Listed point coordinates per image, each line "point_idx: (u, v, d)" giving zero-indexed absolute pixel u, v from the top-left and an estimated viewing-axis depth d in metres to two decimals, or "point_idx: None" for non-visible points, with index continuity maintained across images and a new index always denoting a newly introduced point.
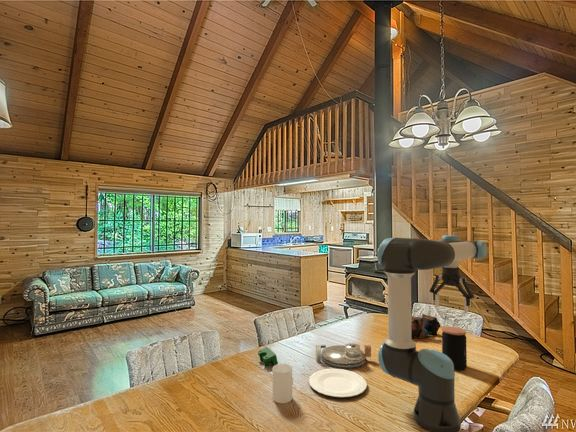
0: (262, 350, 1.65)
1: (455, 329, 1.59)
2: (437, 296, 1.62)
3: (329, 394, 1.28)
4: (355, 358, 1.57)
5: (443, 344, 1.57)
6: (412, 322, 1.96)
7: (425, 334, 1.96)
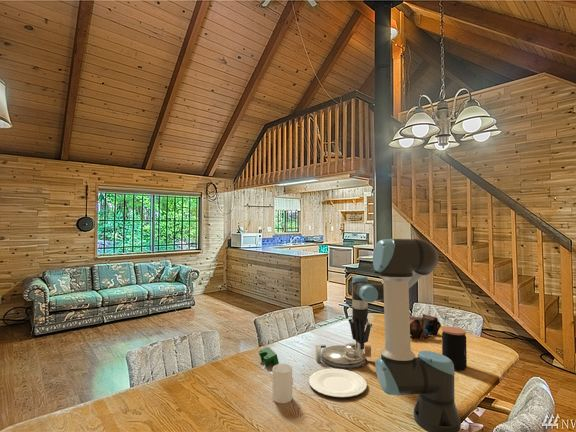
0: (263, 350, 1.65)
1: (455, 329, 1.58)
2: None
3: (329, 394, 1.28)
4: (355, 358, 1.57)
5: (443, 344, 1.57)
6: (413, 322, 1.95)
7: (426, 334, 1.96)
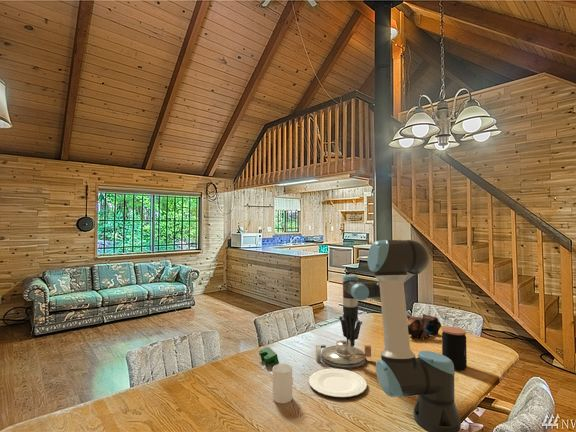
0: (263, 350, 1.65)
1: (455, 329, 1.59)
2: None
3: (329, 394, 1.28)
4: (345, 354, 1.61)
5: (443, 344, 1.57)
6: (413, 322, 1.95)
7: (426, 334, 1.96)
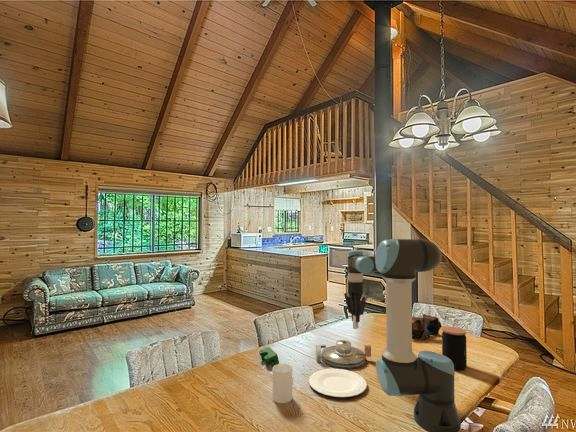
0: (263, 350, 1.65)
1: (455, 329, 1.59)
2: None
3: (329, 394, 1.28)
4: (345, 354, 1.61)
5: (443, 344, 1.57)
6: (414, 322, 1.95)
7: (427, 334, 1.95)
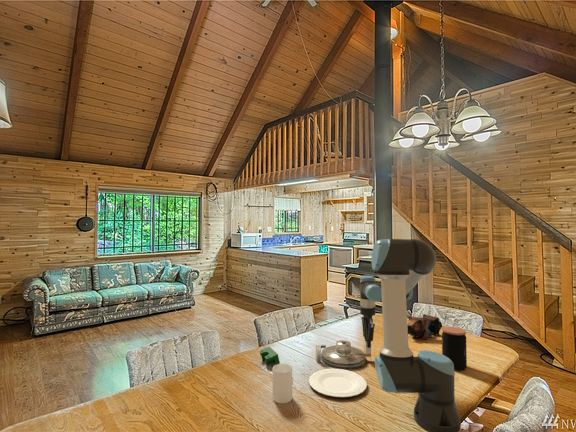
0: (264, 350, 1.65)
1: (455, 329, 1.59)
2: None
3: (329, 394, 1.28)
4: (345, 354, 1.62)
5: (443, 344, 1.57)
6: (416, 323, 1.94)
7: (428, 334, 1.95)
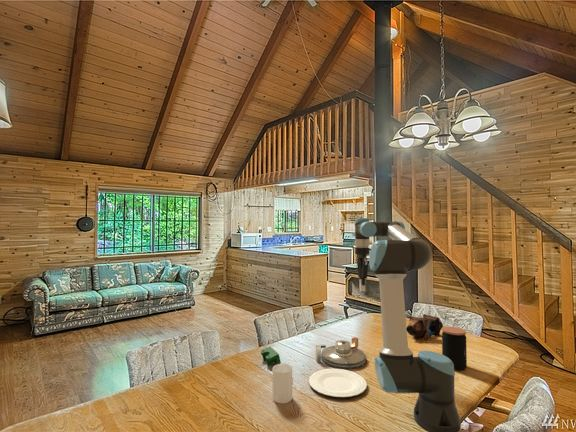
0: (265, 350, 1.65)
1: (455, 329, 1.59)
2: None
3: (329, 394, 1.28)
4: (350, 352, 1.64)
5: (443, 344, 1.57)
6: (417, 323, 1.94)
7: (429, 334, 1.95)
